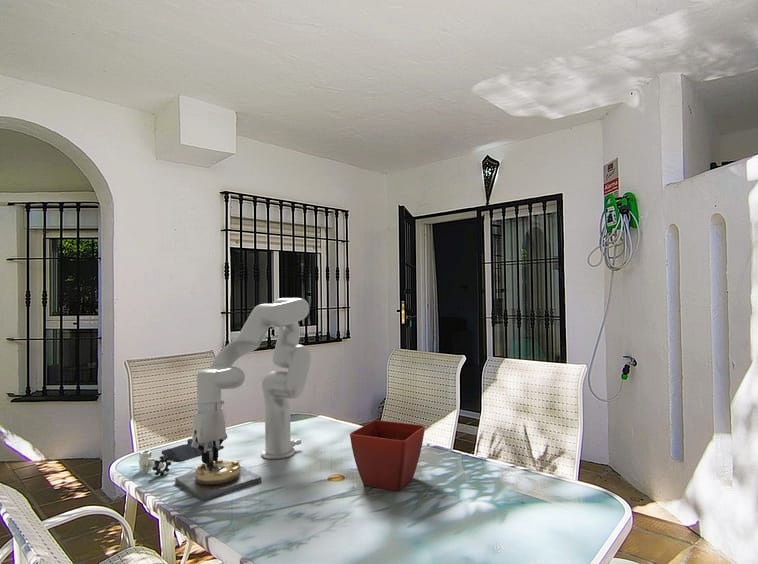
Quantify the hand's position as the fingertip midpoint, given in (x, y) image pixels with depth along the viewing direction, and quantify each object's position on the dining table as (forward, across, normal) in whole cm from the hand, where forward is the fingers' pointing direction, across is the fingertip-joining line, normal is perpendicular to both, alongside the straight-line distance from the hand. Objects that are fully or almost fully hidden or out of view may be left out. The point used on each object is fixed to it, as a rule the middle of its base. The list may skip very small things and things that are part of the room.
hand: (210, 461), depth 162 cm
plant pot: (+6, -35, +49) cm, 60 cm away
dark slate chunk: (+6, -11, -32) cm, 34 cm away
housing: (+6, 0, +6) cm, 8 cm away
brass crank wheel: (+4, 0, +6) cm, 7 cm away
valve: (+6, +10, -21) cm, 24 cm away
